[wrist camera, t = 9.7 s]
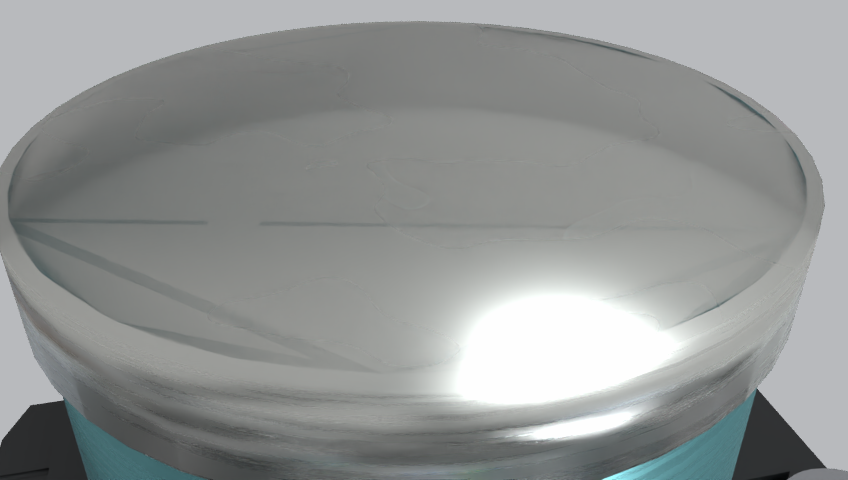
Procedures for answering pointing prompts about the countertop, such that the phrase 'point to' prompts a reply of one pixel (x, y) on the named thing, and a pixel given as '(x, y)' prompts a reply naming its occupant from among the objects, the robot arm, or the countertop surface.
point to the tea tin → (409, 258)
